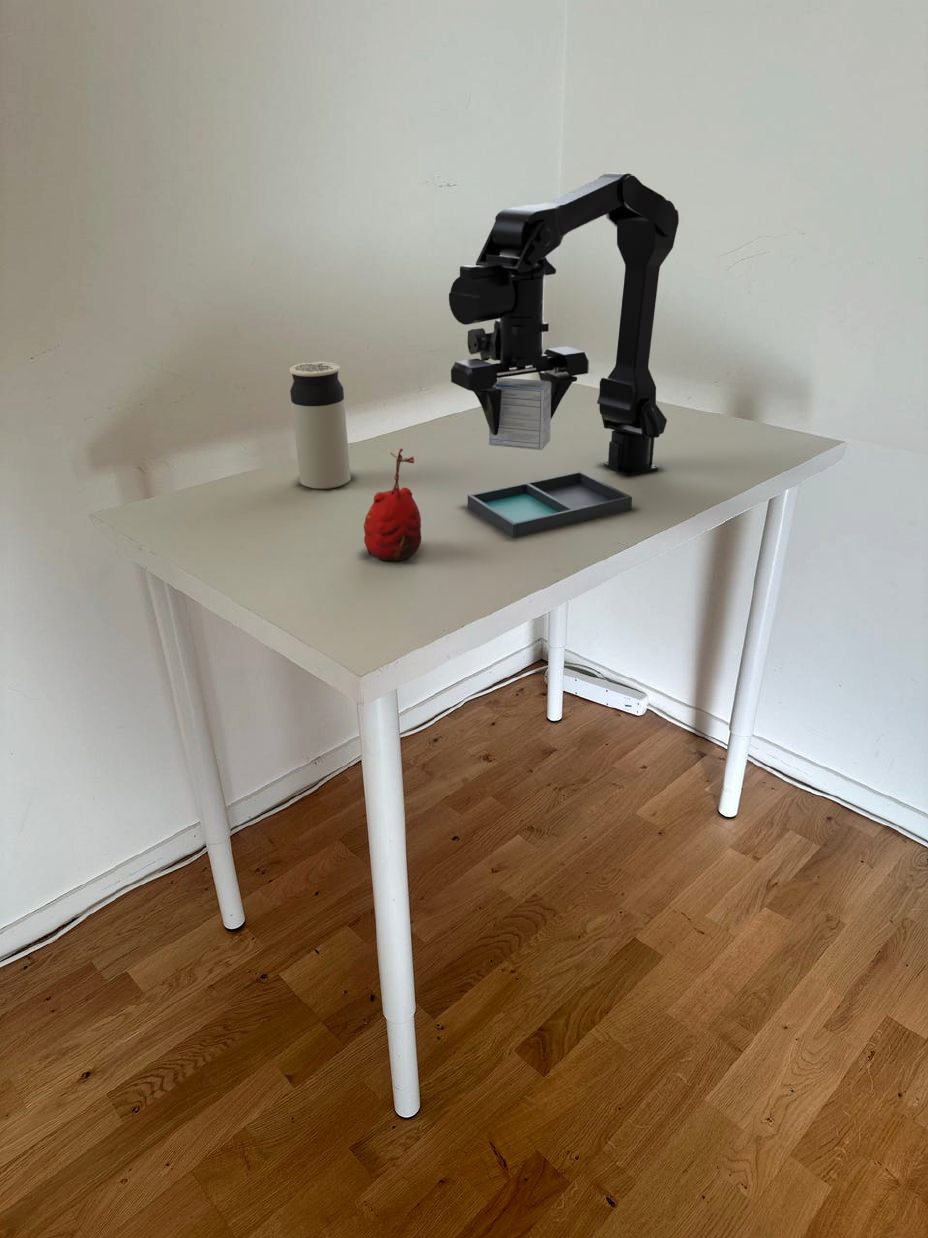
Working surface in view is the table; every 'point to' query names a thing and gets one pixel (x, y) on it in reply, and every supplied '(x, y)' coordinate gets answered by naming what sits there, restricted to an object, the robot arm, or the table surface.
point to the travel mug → (320, 425)
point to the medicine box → (523, 414)
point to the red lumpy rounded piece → (393, 522)
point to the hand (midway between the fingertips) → (520, 429)
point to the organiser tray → (548, 503)
